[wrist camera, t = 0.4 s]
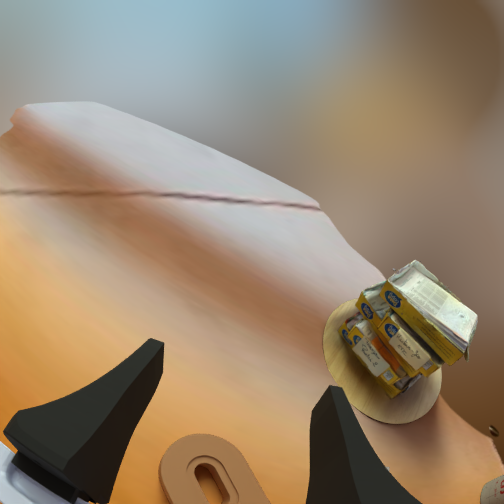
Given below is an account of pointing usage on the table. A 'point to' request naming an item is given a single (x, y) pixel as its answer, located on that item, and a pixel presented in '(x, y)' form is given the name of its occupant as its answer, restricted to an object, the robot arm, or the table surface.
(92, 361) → the table surface
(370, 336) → the stacked boxes on plate
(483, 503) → the thermos bottle
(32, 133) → the table surface
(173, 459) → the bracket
